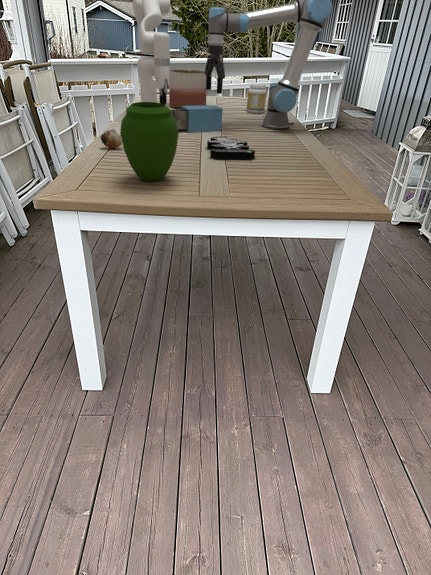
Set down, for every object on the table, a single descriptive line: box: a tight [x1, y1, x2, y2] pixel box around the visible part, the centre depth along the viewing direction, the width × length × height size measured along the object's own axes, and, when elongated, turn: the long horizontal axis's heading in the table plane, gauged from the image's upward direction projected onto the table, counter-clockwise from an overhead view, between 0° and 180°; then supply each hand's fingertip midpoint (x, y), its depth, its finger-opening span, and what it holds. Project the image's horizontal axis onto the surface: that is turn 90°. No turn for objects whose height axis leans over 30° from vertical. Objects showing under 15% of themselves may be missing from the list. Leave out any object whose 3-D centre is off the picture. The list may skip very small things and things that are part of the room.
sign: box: [206, 135, 256, 161], centre depth 185 cm, size 19×3×30 cm
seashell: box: [100, 128, 123, 149], centre depth 178 cm, size 10×6×8 cm, turn 91°
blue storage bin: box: [182, 104, 223, 133], centre depth 220 cm, size 19×10×11 cm, turn 115°
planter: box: [168, 69, 207, 109], centre depth 278 cm, size 25×25×22 cm
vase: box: [119, 101, 179, 182], centre depth 140 cm, size 20×20×24 cm
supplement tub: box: [246, 83, 267, 114], centre depth 274 cm, size 12×12×17 cm
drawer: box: [170, 108, 188, 130], centre depth 215 cm, size 24×9×9 cm, turn 115°
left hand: (163, 103), depth 207 cm, fingers closed
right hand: (213, 91), depth 215 cm, fingers open, 13 cm apart
